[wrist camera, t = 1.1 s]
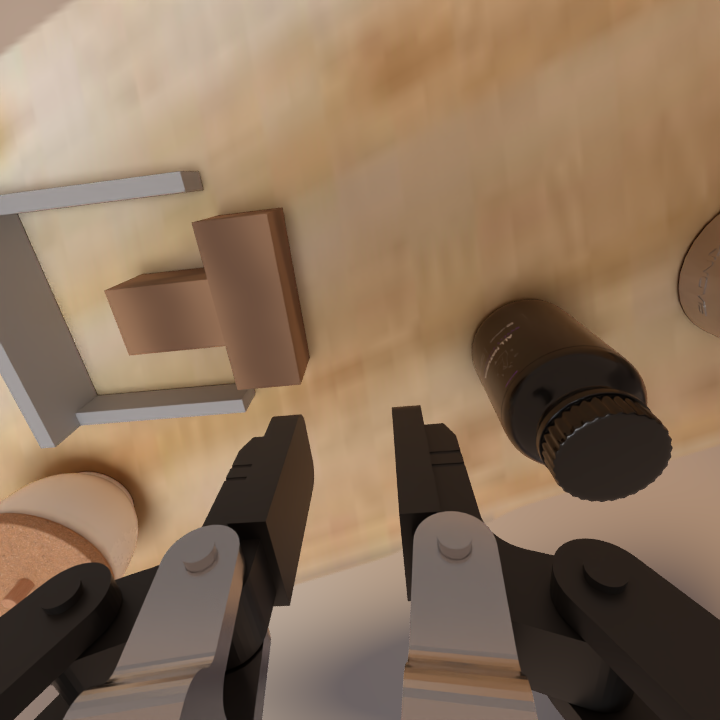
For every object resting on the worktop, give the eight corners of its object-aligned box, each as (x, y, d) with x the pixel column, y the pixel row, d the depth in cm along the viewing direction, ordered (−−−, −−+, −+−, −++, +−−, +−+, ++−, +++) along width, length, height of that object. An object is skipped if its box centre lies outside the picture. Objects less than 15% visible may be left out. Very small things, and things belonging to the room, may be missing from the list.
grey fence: (198, 171, 24) (156, 171, 19) (255, 393, 30) (233, 433, 25) (-6, 198, 25) (-92, 203, 20) (90, 407, 31) (41, 448, 26)
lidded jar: (141, 447, 32) (57, 544, 24) (174, 543, 37) (113, 654, 28) (13, 450, 33) (-113, 546, 24) (61, 544, 37) (-31, 653, 29)
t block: (282, 207, 24) (266, 213, 21) (309, 357, 28) (300, 384, 25) (124, 226, 25) (83, 235, 21) (173, 370, 29) (145, 398, 26)
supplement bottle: (462, 309, 27) (523, 403, 16) (570, 286, 26) (713, 369, 15) (475, 397, 29) (534, 530, 18) (573, 379, 28) (695, 507, 18)
